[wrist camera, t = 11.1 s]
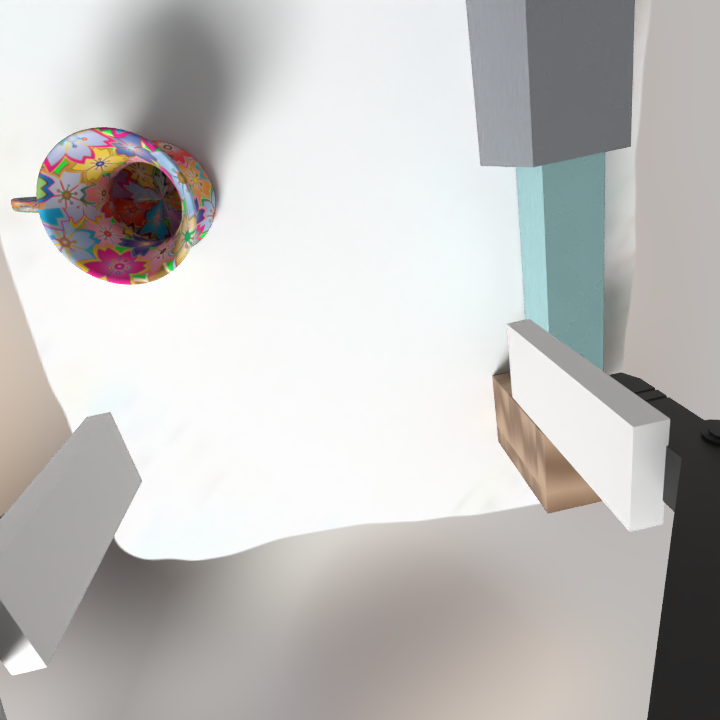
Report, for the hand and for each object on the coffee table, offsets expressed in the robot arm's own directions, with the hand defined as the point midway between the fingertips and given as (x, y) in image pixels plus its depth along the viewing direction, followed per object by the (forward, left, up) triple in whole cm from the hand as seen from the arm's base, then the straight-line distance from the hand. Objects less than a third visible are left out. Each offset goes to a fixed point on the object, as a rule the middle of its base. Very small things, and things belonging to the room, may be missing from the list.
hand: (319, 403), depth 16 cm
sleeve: (-12, +19, -29) cm, 36 cm away
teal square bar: (+7, +19, -25) cm, 32 cm away
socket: (+20, +19, -29) cm, 40 cm away
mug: (-7, -12, -29) cm, 32 cm away
